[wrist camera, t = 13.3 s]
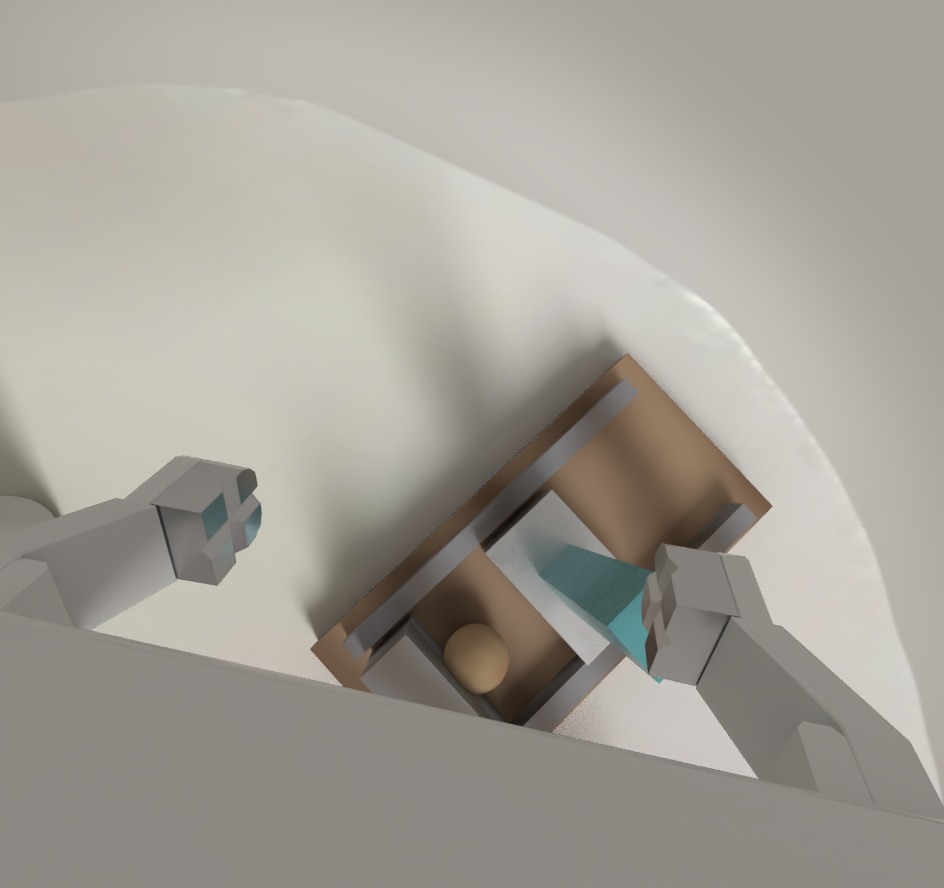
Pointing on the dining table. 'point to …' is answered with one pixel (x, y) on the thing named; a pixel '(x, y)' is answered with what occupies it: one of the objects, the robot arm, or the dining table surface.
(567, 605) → the track slider block
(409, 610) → the tray
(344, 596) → the dining table surface
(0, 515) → the beverage can
